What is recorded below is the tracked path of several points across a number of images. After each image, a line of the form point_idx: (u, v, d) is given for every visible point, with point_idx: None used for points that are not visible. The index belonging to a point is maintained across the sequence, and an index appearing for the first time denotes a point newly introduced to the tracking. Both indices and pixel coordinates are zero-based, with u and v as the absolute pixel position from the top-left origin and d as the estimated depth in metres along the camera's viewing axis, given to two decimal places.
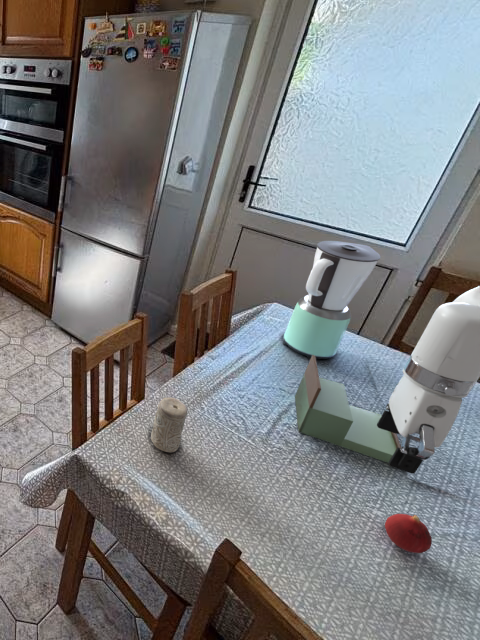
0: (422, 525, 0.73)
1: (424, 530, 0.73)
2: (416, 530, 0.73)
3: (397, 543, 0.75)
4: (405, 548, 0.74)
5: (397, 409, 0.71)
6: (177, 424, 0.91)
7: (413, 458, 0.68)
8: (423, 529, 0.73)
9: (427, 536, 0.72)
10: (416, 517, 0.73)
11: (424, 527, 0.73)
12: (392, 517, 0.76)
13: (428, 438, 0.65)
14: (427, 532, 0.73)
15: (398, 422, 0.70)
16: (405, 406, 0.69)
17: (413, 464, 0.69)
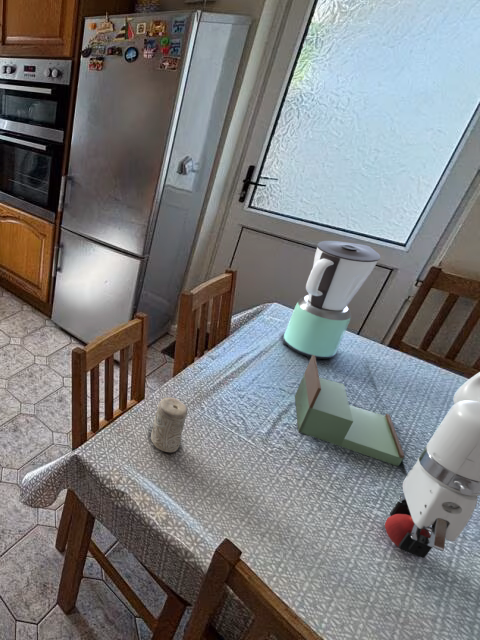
0: None
1: (424, 530, 0.73)
2: None
3: (397, 543, 0.75)
4: None
5: (411, 497, 0.72)
6: (177, 424, 0.91)
7: (423, 545, 0.70)
8: (423, 529, 0.73)
9: (427, 536, 0.72)
10: None
11: None
12: (392, 517, 0.76)
13: (440, 535, 0.67)
14: (427, 532, 0.73)
15: (413, 511, 0.71)
16: (420, 497, 0.70)
17: (423, 550, 0.71)
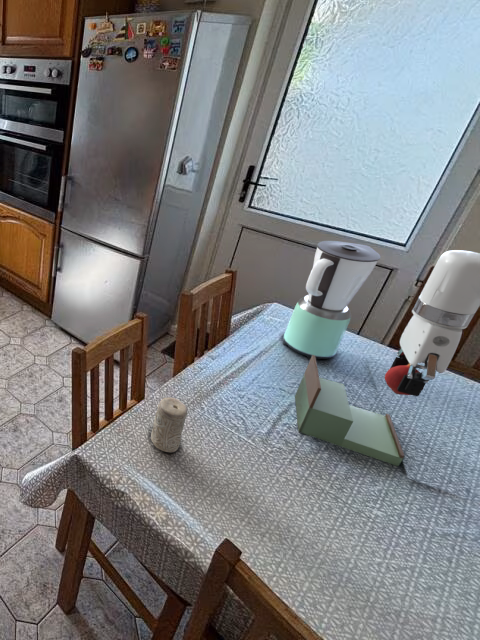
0: (416, 370, 0.86)
1: None
2: None
3: (395, 388, 0.87)
4: None
5: (407, 344, 0.85)
6: (177, 424, 0.91)
7: (418, 382, 0.83)
8: None
9: None
10: None
11: (418, 371, 0.86)
12: (391, 369, 0.89)
13: (431, 366, 0.79)
14: None
15: (409, 355, 0.84)
16: (414, 340, 0.82)
17: (417, 387, 0.83)
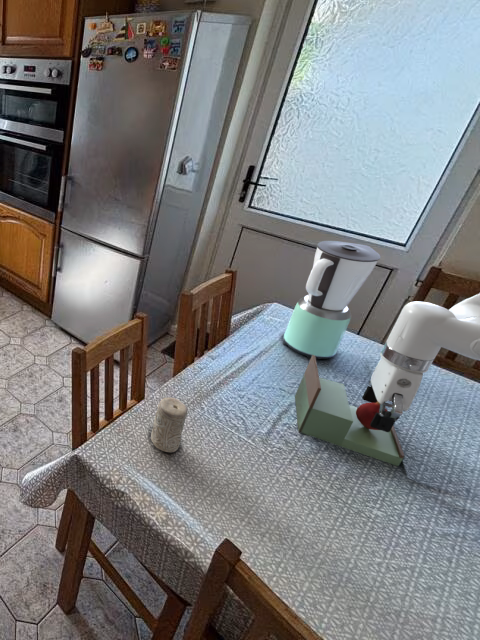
0: None
1: None
2: None
3: (365, 423, 0.96)
4: None
5: (376, 383, 0.93)
6: (177, 424, 0.91)
7: (388, 420, 0.90)
8: None
9: None
10: None
11: (385, 409, 0.94)
12: (361, 405, 0.97)
13: (398, 403, 0.87)
14: None
15: (377, 393, 0.92)
16: (382, 380, 0.91)
17: (388, 424, 0.90)
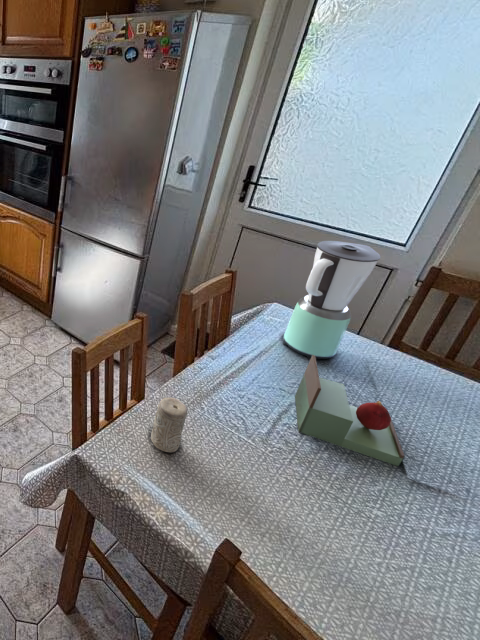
0: (383, 408, 0.94)
1: (385, 411, 0.94)
2: (379, 411, 0.94)
3: (365, 423, 0.96)
4: (371, 426, 0.95)
5: None
6: (177, 424, 0.91)
7: None
8: (384, 410, 0.94)
9: (387, 415, 0.94)
10: (379, 402, 0.95)
11: (385, 409, 0.94)
12: (361, 405, 0.97)
13: None
14: (387, 412, 0.94)
15: None
16: None
17: None
